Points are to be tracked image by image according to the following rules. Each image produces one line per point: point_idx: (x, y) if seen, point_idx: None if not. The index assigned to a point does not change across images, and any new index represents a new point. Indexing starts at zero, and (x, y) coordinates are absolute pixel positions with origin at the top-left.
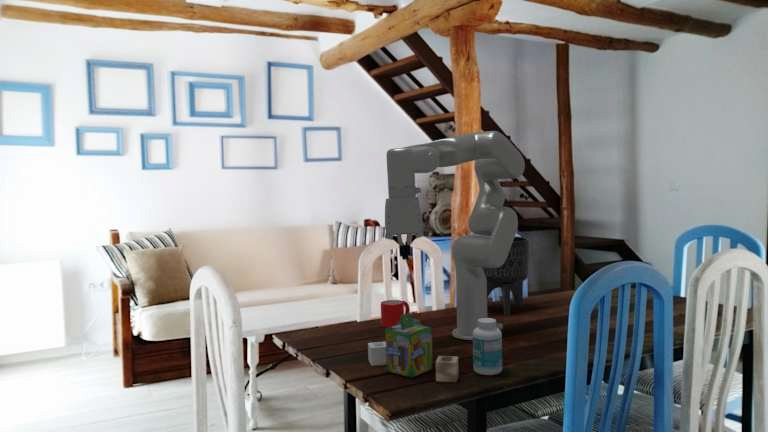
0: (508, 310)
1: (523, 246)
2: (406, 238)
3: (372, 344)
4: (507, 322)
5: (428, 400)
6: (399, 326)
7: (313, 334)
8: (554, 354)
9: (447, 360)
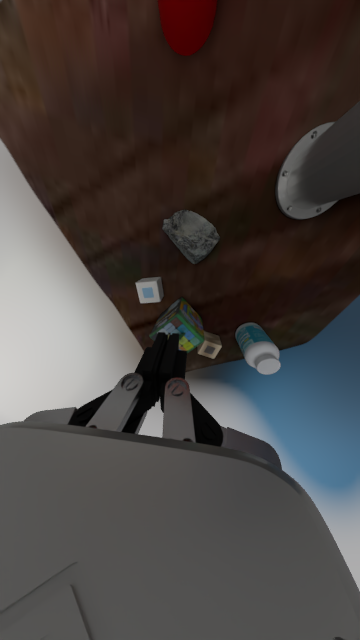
0: None
1: None
2: (164, 406)
3: (141, 290)
4: None
5: None
6: (166, 332)
7: (29, 95)
8: (345, 301)
9: (208, 353)
